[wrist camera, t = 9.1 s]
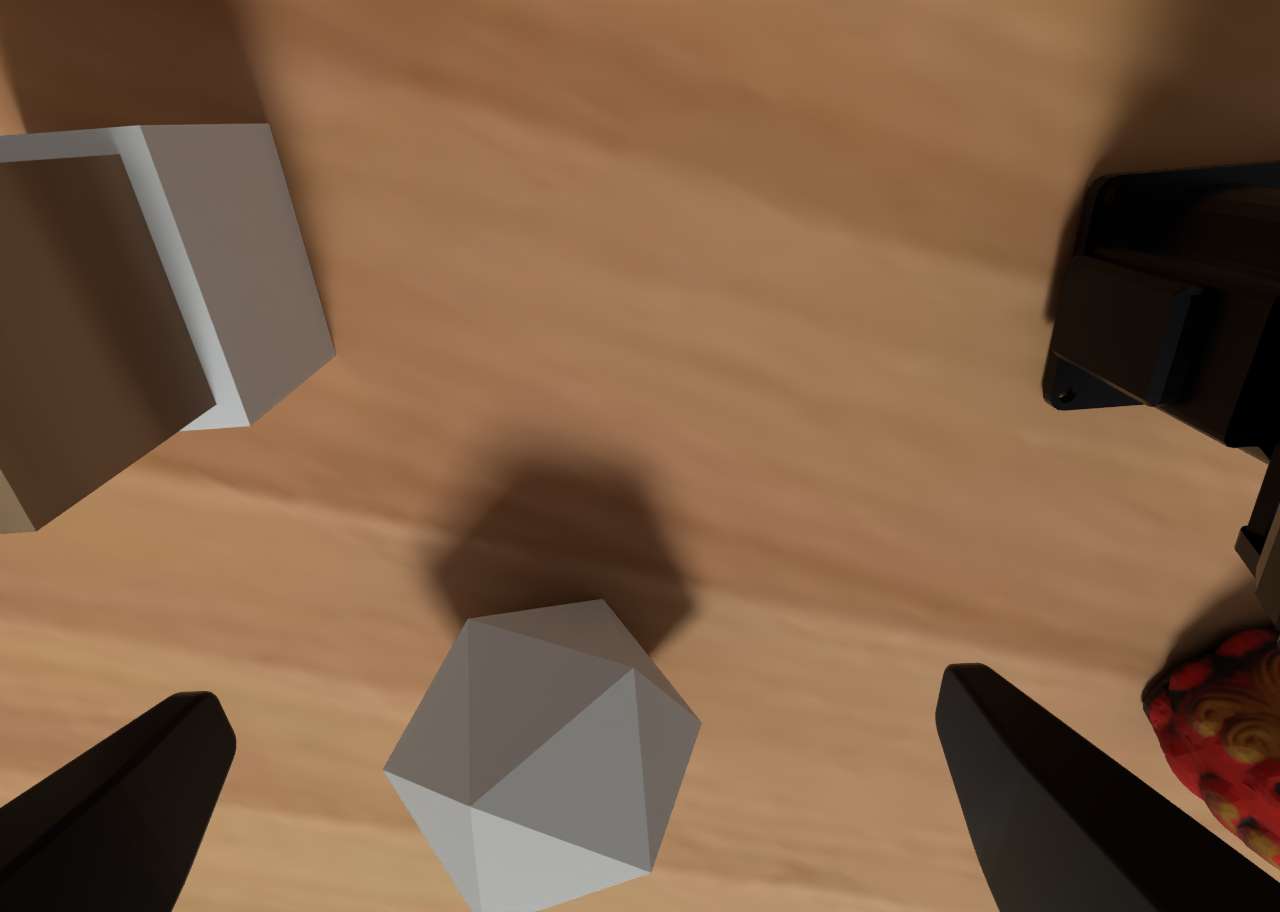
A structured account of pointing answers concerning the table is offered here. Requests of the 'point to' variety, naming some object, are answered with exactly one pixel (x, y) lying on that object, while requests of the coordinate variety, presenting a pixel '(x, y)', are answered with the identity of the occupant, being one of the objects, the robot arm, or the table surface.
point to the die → (544, 757)
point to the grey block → (218, 252)
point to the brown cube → (83, 337)
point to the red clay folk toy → (1228, 734)
